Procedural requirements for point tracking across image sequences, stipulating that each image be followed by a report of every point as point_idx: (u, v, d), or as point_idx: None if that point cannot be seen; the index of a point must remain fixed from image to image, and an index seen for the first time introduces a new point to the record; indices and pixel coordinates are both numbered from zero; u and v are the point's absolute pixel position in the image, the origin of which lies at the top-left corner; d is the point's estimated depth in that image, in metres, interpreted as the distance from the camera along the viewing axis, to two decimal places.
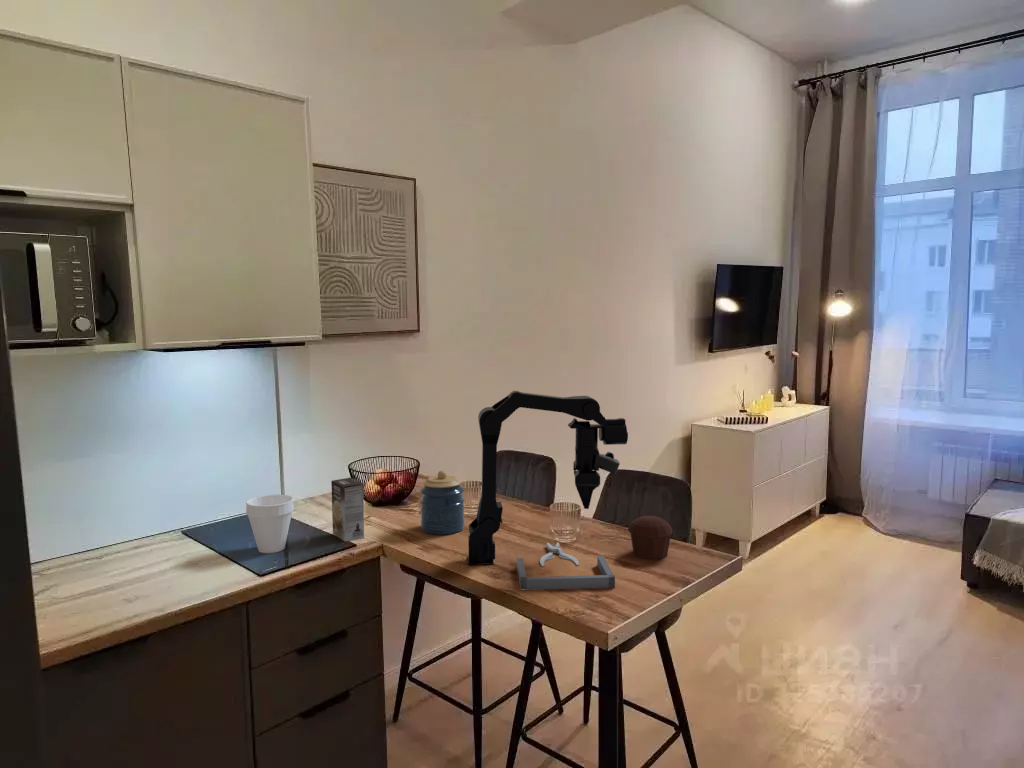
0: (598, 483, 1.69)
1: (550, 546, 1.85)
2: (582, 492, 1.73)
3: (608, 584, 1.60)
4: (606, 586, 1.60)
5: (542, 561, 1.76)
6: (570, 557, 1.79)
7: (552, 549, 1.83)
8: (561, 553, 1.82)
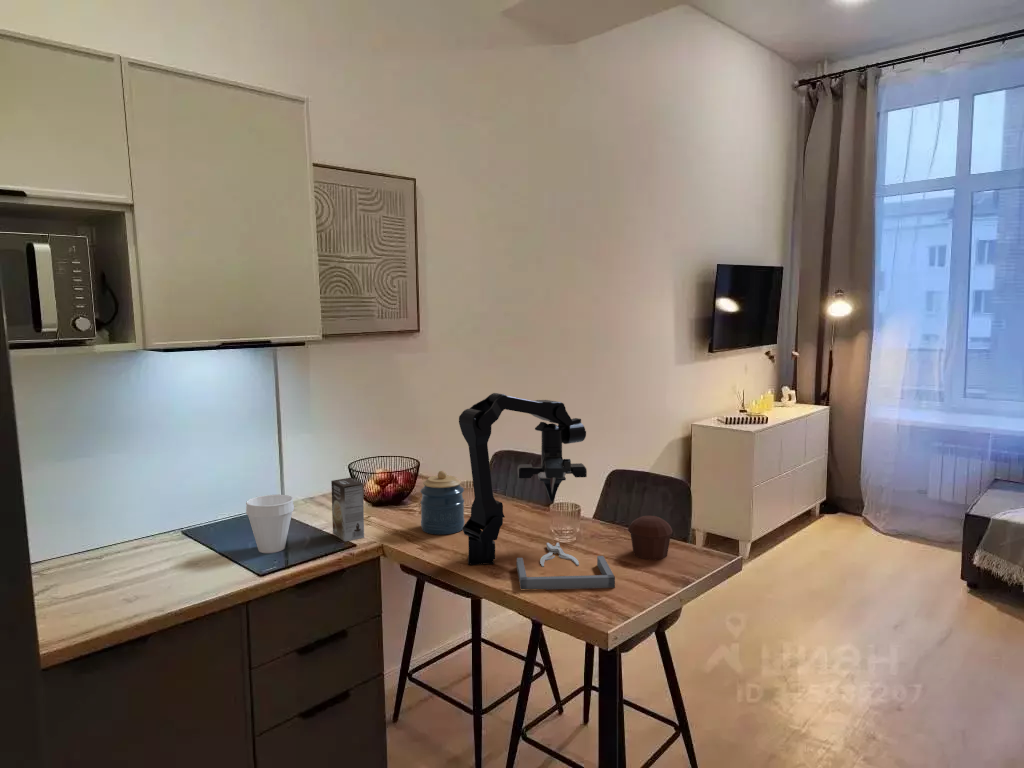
0: (519, 476, 1.87)
1: (550, 546, 1.85)
2: None
3: (608, 584, 1.60)
4: (606, 586, 1.60)
5: (542, 561, 1.76)
6: (570, 557, 1.79)
7: (552, 549, 1.83)
8: (561, 553, 1.82)
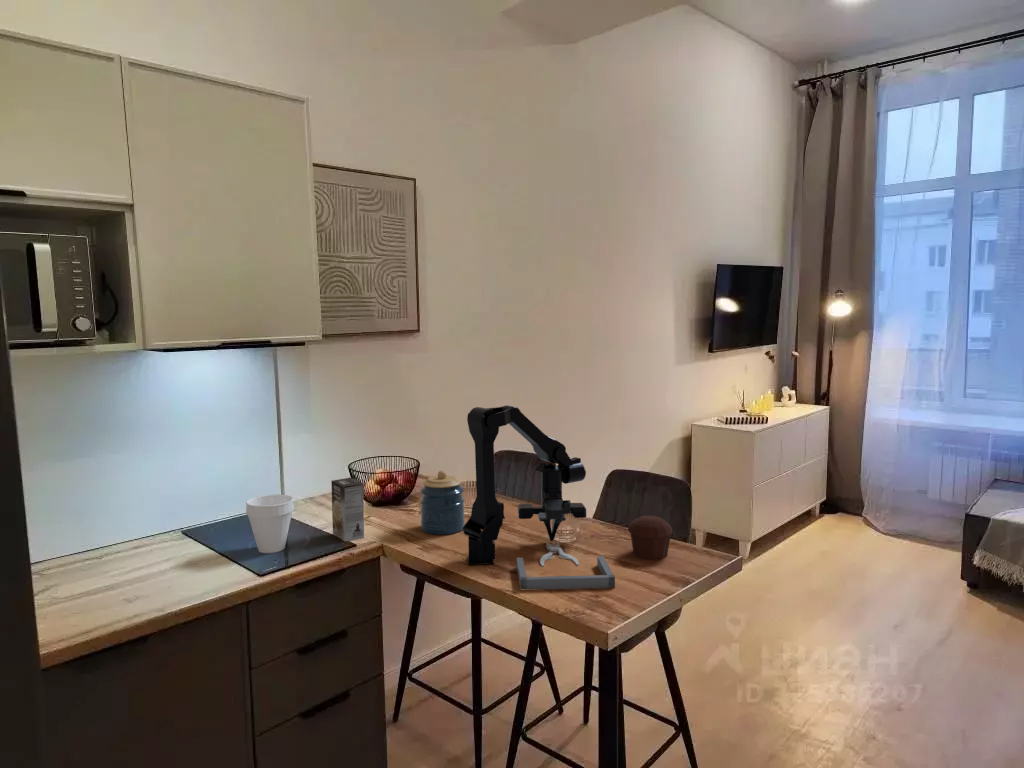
0: (519, 517, 1.88)
1: (550, 546, 1.85)
2: None
3: (608, 584, 1.60)
4: (606, 586, 1.60)
5: (542, 561, 1.76)
6: (570, 557, 1.79)
7: (552, 549, 1.83)
8: (561, 553, 1.82)
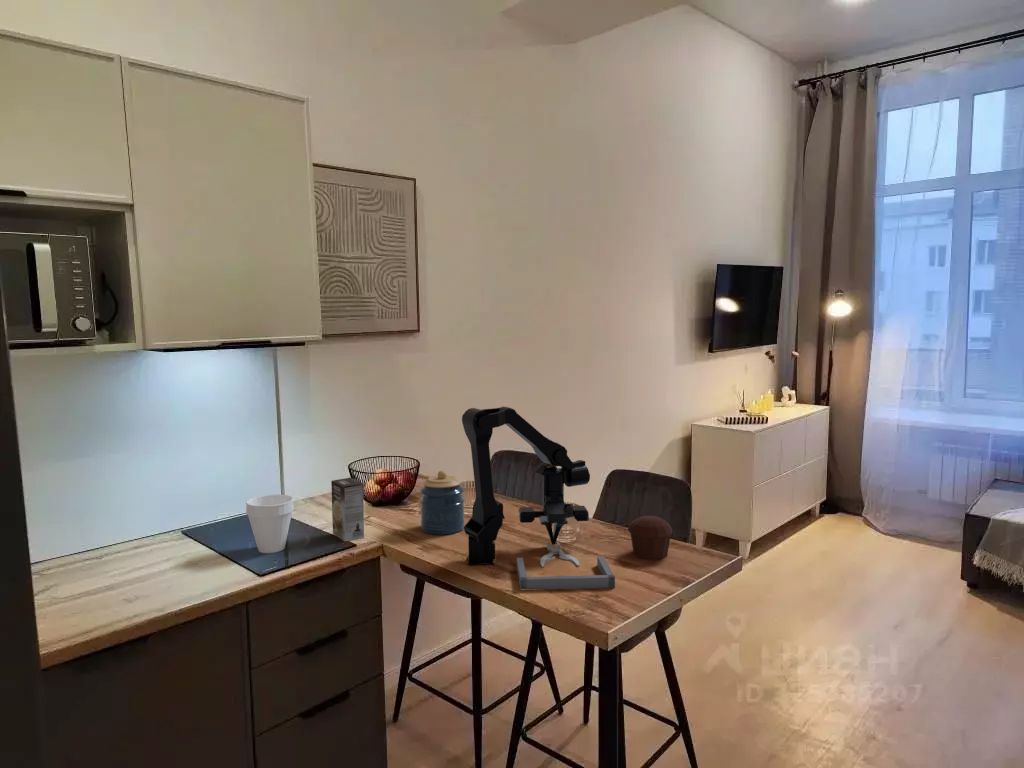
0: (520, 520, 1.85)
1: (551, 546, 1.85)
2: None
3: (608, 584, 1.60)
4: (606, 586, 1.60)
5: (542, 561, 1.76)
6: (570, 557, 1.78)
7: (553, 549, 1.83)
8: (562, 553, 1.81)
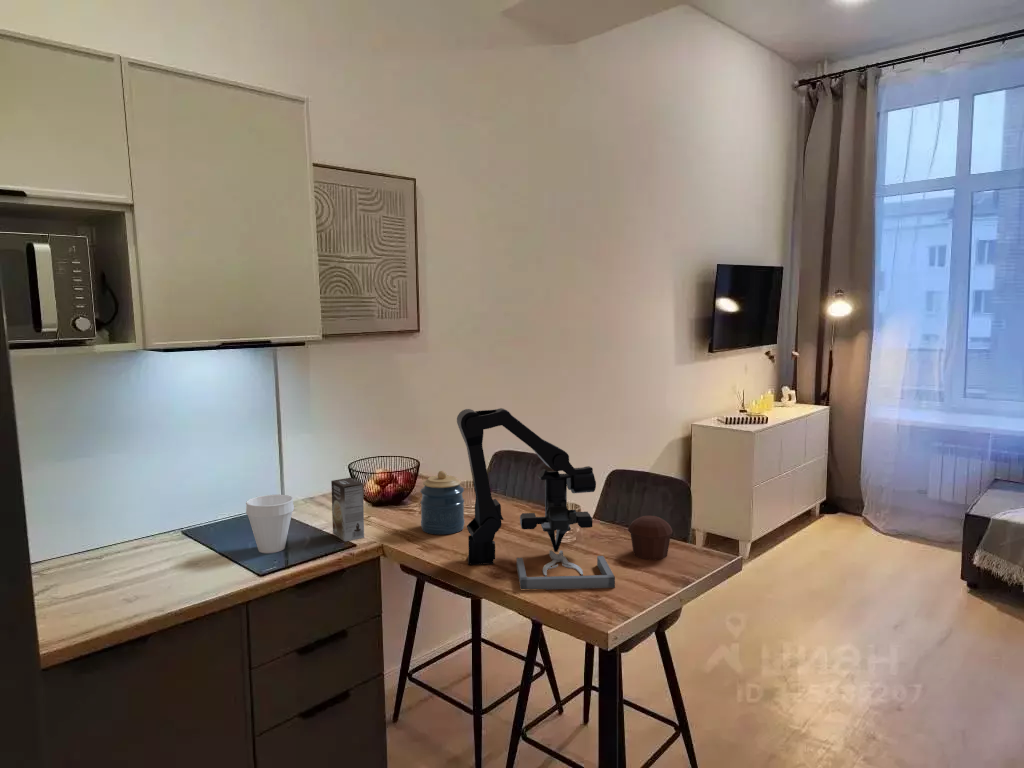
0: (522, 527, 1.79)
1: (553, 554, 1.79)
2: None
3: (608, 584, 1.60)
4: (606, 586, 1.60)
5: (545, 570, 1.70)
6: (574, 566, 1.73)
7: (555, 557, 1.77)
8: (565, 561, 1.75)
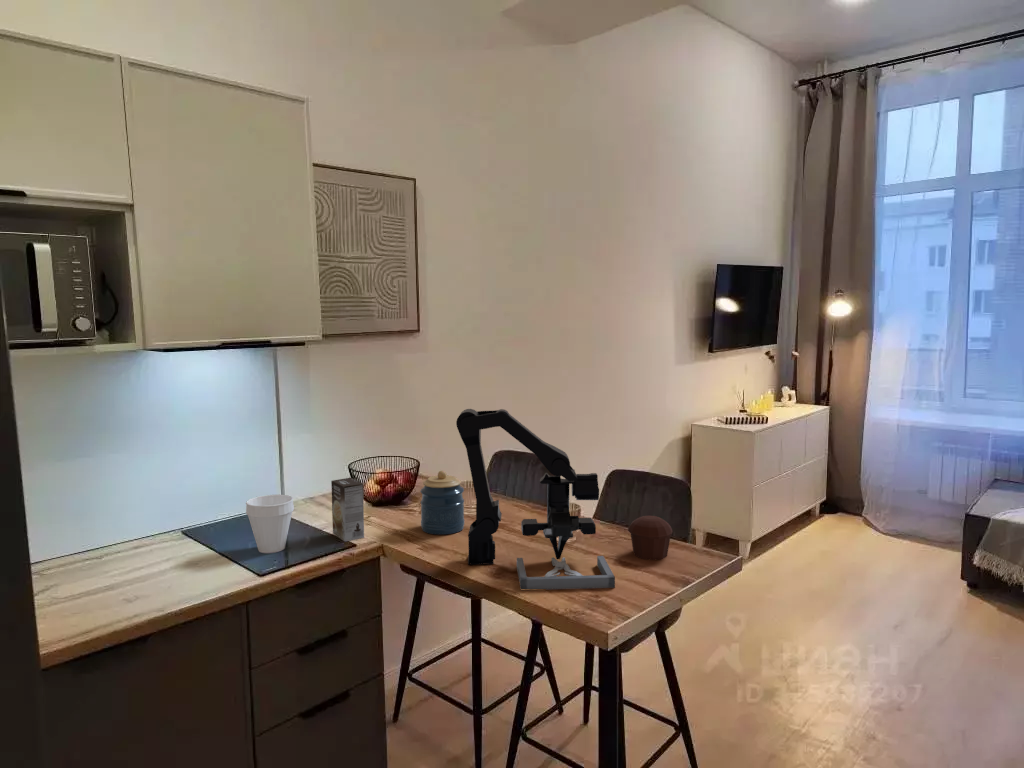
0: (523, 533, 1.74)
1: (555, 561, 1.73)
2: None
3: (608, 584, 1.60)
4: (606, 586, 1.60)
5: None
6: (576, 574, 1.67)
7: (557, 565, 1.72)
8: (567, 569, 1.70)
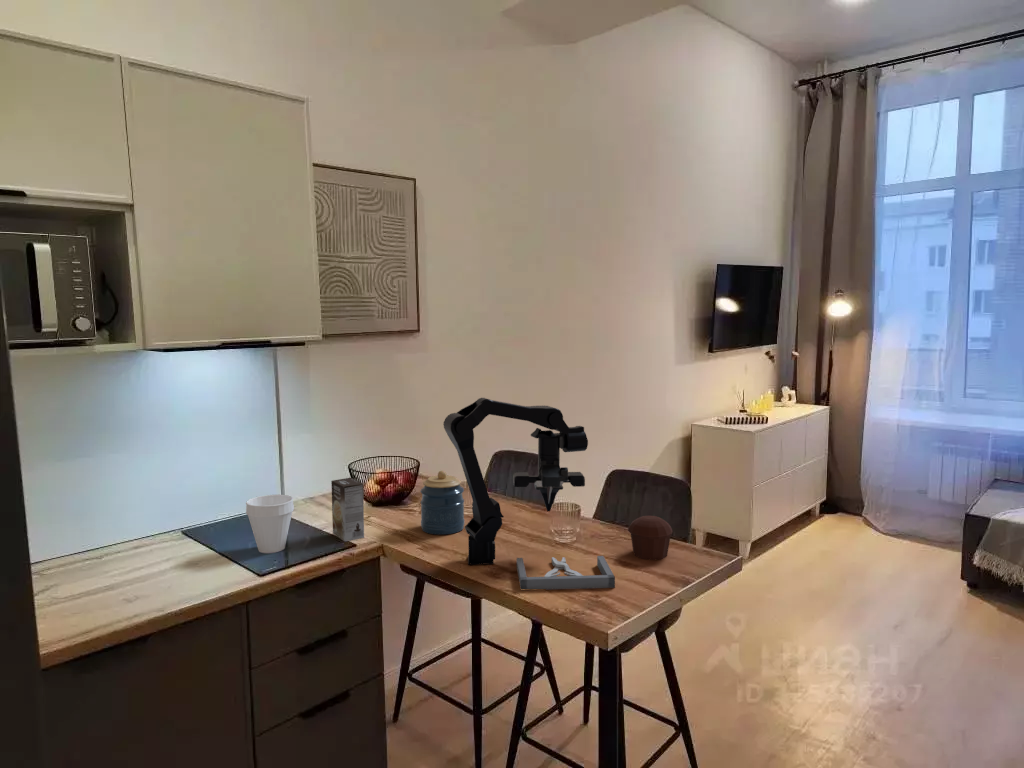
0: (514, 485, 1.80)
1: (555, 561, 1.73)
2: None
3: (608, 584, 1.60)
4: (606, 586, 1.60)
5: None
6: (576, 574, 1.67)
7: (557, 565, 1.72)
8: (567, 569, 1.70)
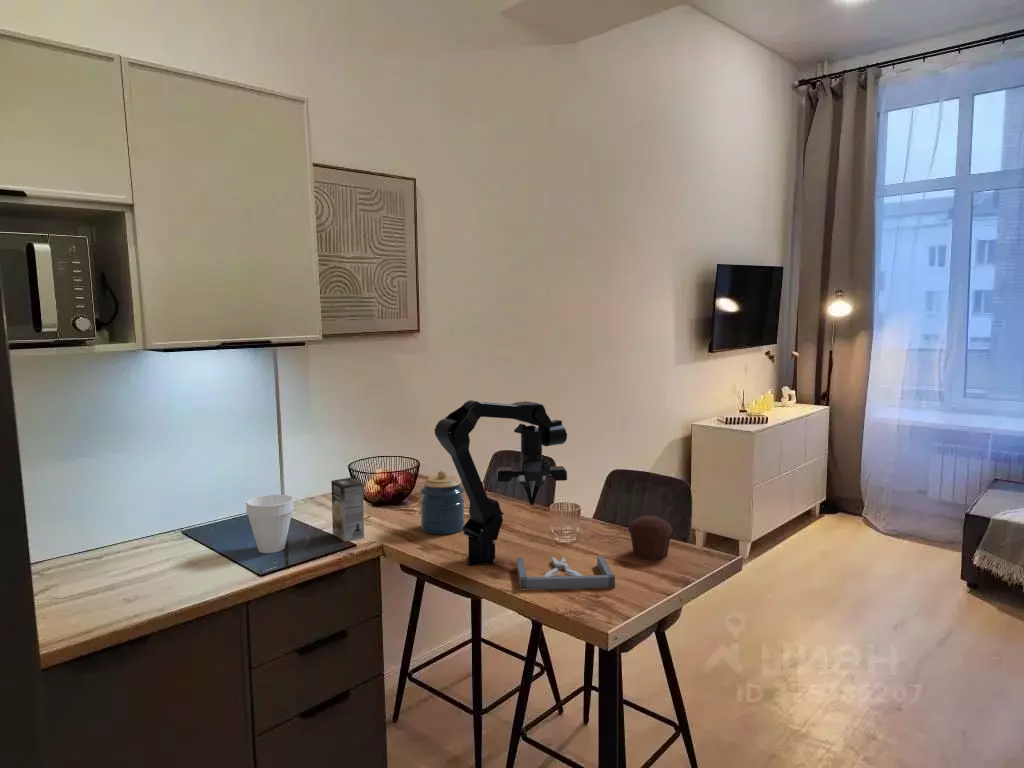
0: (498, 480, 1.83)
1: (555, 561, 1.74)
2: None
3: (608, 584, 1.60)
4: (606, 586, 1.60)
5: None
6: (576, 574, 1.67)
7: (557, 565, 1.72)
8: (567, 569, 1.70)
